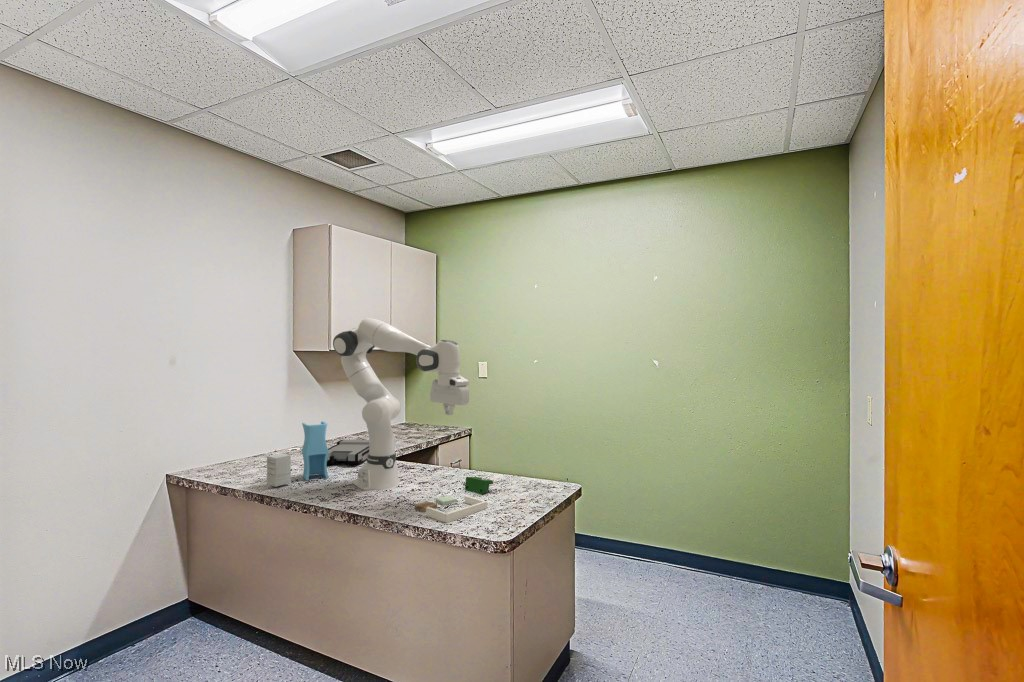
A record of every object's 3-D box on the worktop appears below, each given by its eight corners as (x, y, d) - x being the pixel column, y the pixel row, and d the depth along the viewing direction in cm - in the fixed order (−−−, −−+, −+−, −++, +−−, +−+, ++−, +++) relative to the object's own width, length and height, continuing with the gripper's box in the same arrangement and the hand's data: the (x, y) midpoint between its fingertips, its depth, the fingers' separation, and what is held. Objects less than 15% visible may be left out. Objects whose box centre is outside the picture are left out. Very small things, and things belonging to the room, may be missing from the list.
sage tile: (435, 503, 202) (435, 498, 202) (448, 500, 205) (448, 495, 205) (443, 507, 197) (443, 501, 197) (456, 504, 201) (456, 498, 201)
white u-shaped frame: (426, 515, 186) (426, 507, 186) (466, 503, 201) (466, 495, 201) (446, 523, 178) (446, 514, 178) (487, 509, 193) (487, 501, 193)
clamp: (488, 502, 214) (497, 483, 213) (478, 502, 210) (487, 483, 209) (471, 486, 222) (480, 468, 221) (461, 486, 218) (470, 467, 217)
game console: (317, 467, 259) (317, 451, 259) (341, 454, 291) (341, 439, 291) (358, 468, 258) (358, 451, 258) (377, 454, 290) (377, 440, 290)
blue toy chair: (323, 472, 247) (323, 421, 248) (328, 477, 239) (328, 423, 239) (301, 475, 242) (302, 422, 242) (306, 480, 234) (306, 425, 234)
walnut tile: (414, 510, 193) (414, 504, 193) (426, 506, 198) (426, 501, 198) (425, 513, 190) (425, 508, 190) (437, 509, 194) (437, 504, 194)
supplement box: (281, 480, 233) (282, 453, 233) (291, 483, 229) (291, 455, 229) (266, 484, 227) (266, 455, 227) (275, 487, 223) (275, 458, 223)
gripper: (426, 379, 210) (426, 413, 210) (459, 382, 196) (459, 418, 196) (438, 378, 214) (438, 411, 214) (471, 381, 201) (471, 416, 201)
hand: (448, 414), depth 205 cm, fingers closed
